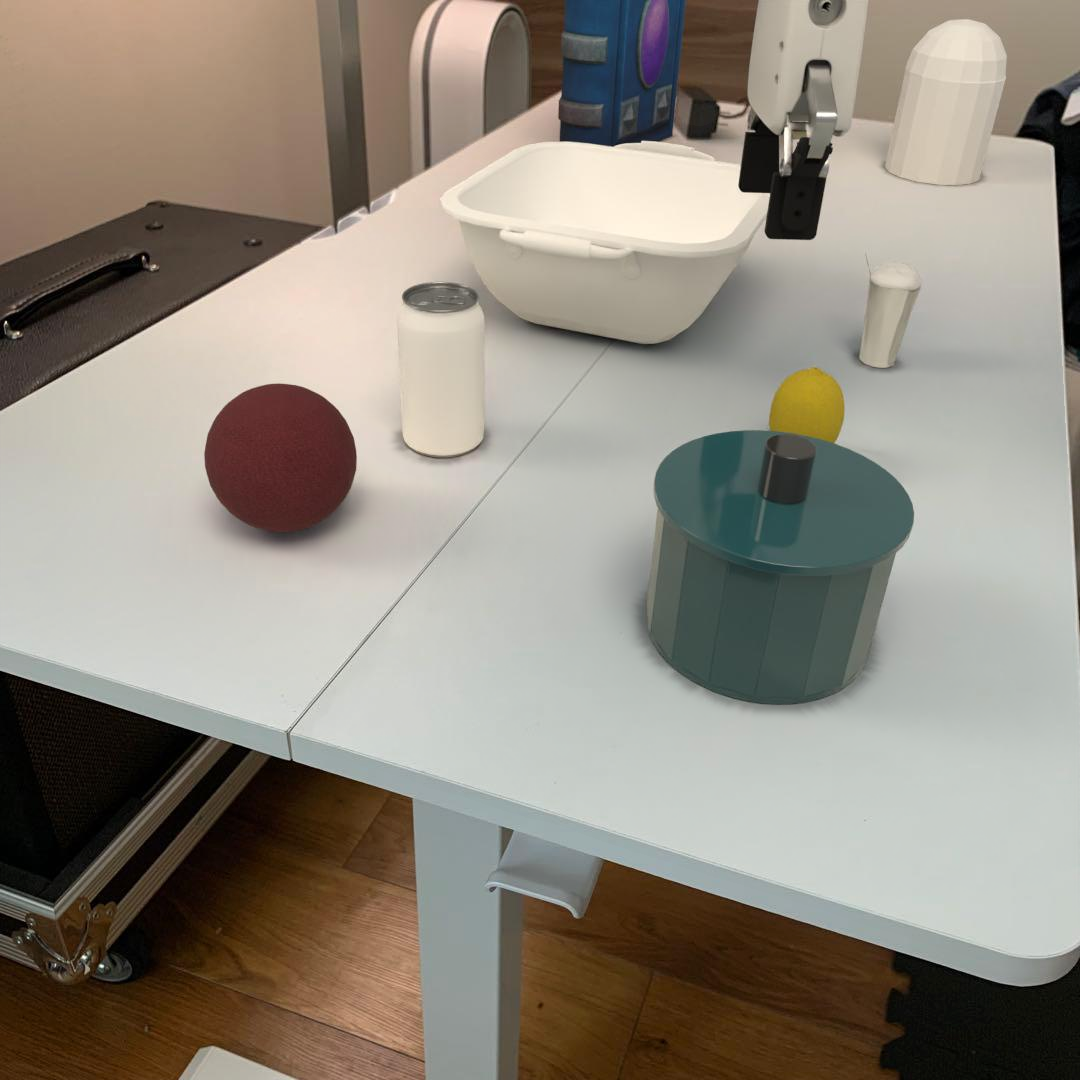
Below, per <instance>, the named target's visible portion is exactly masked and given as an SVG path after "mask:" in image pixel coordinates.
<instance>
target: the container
mask: <svg viewBox="0 0 1080 1080" xmlns="http://www.w3.org/2000/svg"><path fill="white" fill-rule="evenodd" d="M1007 61H1008V55H1007V52H1006V49H1005V47H1004V44H1003V41H1002V38H1001V36H999V34H998V33H996V32H995V31H994V30H993V29H992V28H991V27H990V26H989V25H988V24H987V23H984V22H981V21H977V20H974V19H969V18H963V19H961V18H960V19H950V20H947V21H945V22H942V23H941V24H939V25H936V26H935V27H933V28H931V29H929V30H928V31H927V32H926V33H925V34H924V35H923V36H922V37H921V39H920V40H919V41H918V42H917V43H916V44H915V46H914V47H913V48H912V50H911V52H910V55H909V57H908V59H907V62H906V65H905V67H904V69H905V70H904V74H903V79H902V85H901V89H900V94H899V98H898V103H897V106H896V107H897V108H896V113H895V117H894V121H893V127H892V131H891V136H890V140H889V145H888V149H887V155H886V160H885V163H884V164H885V165H884V168H885V170H886V171H887V172H888V173H890V174H892V175H894V176H895V177H898V178H900V179H901V178H902V179H904V180H909V181H913V182H917V183H923V184H929V185H930V184H931V185H938V186H939V185H940V186H961V185H970V184H973V183H976V182H979V181H980V178H981V174H982V171H983V167H984V164H985V161H986V156H987V152H988V149H989V144H990V141H991V137H992V134H993V130H994V126H995V122H996V118H997V115H998V111H999V107H1000V103H1001V99H1002V95H1003V92H1004V87H1005V83H1006V80H1007Z"/></svg>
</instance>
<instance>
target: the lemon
mask: <svg viewBox="0 0 1080 1080" xmlns="http://www.w3.org/2000/svg"><path fill="white" fill-rule="evenodd" d="M768 419H769V420H768V427H769V431H778V432H787V433H794V434H799V435H805V436H809V437H813V438H817V439H821V440H825V441H828V442H831V443H834V444H836V441H837V440H838V438H839V436H840V433H841V431H842V428H843V424H844V420H845V397H844V394H843V390H842V388H841V386H840V384H839V382H837V380H836V379H835V378H834V377H833V376H832V375H831V374H829V373H827V372H825V371H823V370H822V369H821V368H820V367H819V366H812V367H810V368H806V369H805V368H804V369H801V370H797V371H795V372H793V373H792V374H790V375H788V376H787V377H786V378H785V379H784V380H783V381H782V382H781V383H780V385H779V386H778V388H777V390H776V392H775V394H774V396H773V398H772V402H771V405H770V411H769V416H768Z"/></svg>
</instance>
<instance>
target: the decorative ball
mask: <svg viewBox="0 0 1080 1080" xmlns="http://www.w3.org/2000/svg"><path fill="white" fill-rule="evenodd" d="M203 454H204V457H203V458H204V469H205V472H206V476H207V480H208V482H209V486H210V488H211V490H212V492H213V493H214V495H215V497H216V498H217V500H218V501H219V503H220V504H221V505H222V506H223V507H224V508H225V510H227V511H228V512H229V513H230V514H231V515H232V516H234V518H236V519H238V520H239V521H241V522H243V523H244V524H246V525H248V526H251V527H253V528H257V529H260V530H262V531H266V532H272V533H292V532H298V531H302V530H305V529H309V528H310V527H313V526H315V525H317V524H319V523H321V522H323V521H324V520H326V519H328V518H329V517H330V516H331V515H332V514H333V513H334V512H336V510H338V508H339V507H341V505H342V504H343V503H344V501H345V500H346V498H347V496H348V495H349V493H350V491H351V489H352V486H353V482H354V480H355V477H356V472H357V463H358V462H357V461H358V459H357V458H358V456H357V447H356V442H355V437H354V435H353V432H352V431H351V428H350V426H349V424H348V422H347V420H346V419H345V417H344V415H342V413H341V412H340V410H339V409H338V408H337V406H335V405H334V404H333V403H331V402H330V401H329V400H328V399H327V398H326V397H324V396H322V395H321V394H320V393H317V392H315V391H314V390H311V389H309V388H307V387H304V386H301V385H297V384H291V383H268V384H263V385H258V386H256V387H252V388H249V389H247V390H244V391H243V392H241V393H239V394H238V395H237V396H235V397H233V399H231V400H230V401H228V402H227V403H226V404H225V405H224V406H223V407H222V409H221V410H220V411H219V412H218V414H217V415H216V417H215V418H214V419H213V422H212V424H211V426H210V427H209V430H208V433H207V436H206V441H205V447H204V453H203Z"/></svg>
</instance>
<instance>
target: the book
mask: <svg viewBox="0 0 1080 1080" xmlns="http://www.w3.org/2000/svg"><path fill="white" fill-rule="evenodd" d="M685 10H686V0H565V1H564V21H563V22H564V23H563V31H562V32H561V34H560V35H561V38H560V56H561V57H562V71H561V72H562V73H561V92H560V93H561V96H560V98H559V99H558V109H557V111H558V113H557V116H558V117H557V119H558V120H559V141H558V142H578V143H589V144H596V145H603V146H611V147H614V146H616V145H620V144H626V143H641V141H655V142H662V141H663V140H667V139H668V138H671V137H673V133H674V122H675V113H676V112H675V111H676V101H677V93H678V92H677V91H678V82H679V73H680V72H679V71H680V61H681V52H682V51H681V50H682V42H683V31H684V21H685Z"/></svg>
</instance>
